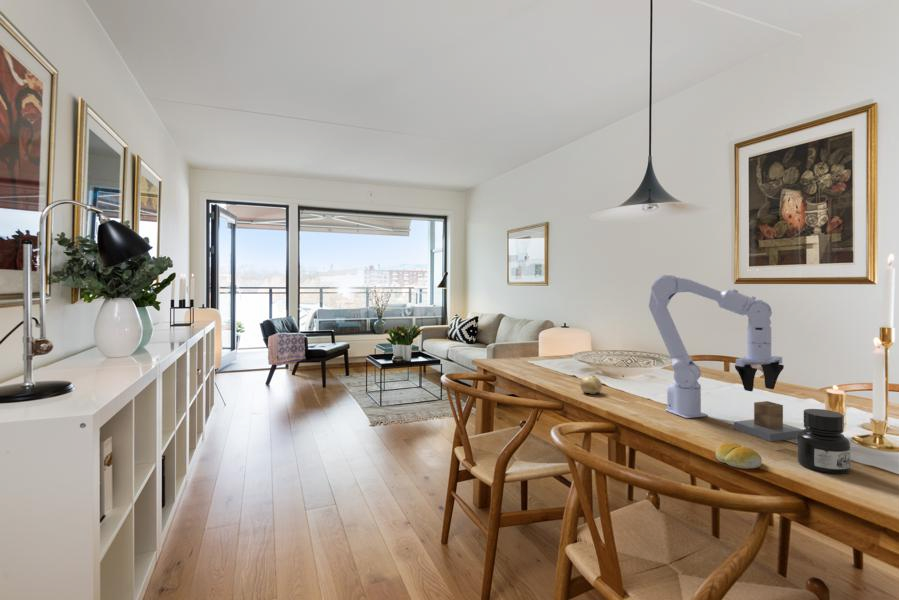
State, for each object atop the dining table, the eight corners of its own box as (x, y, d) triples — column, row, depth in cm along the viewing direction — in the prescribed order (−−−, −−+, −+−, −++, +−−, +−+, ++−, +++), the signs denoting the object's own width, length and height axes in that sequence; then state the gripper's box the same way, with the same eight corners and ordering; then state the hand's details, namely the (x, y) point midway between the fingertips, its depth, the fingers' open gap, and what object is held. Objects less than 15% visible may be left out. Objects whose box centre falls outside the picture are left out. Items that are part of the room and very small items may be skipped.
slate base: (733, 428, 126) (733, 421, 126) (765, 425, 129) (765, 418, 129) (770, 441, 115) (770, 434, 115) (804, 437, 118) (804, 429, 118)
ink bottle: (824, 477, 94) (824, 420, 94) (786, 461, 103) (786, 409, 103) (862, 472, 96) (863, 417, 96) (822, 457, 105) (822, 406, 104)
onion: (605, 395, 166) (604, 376, 166) (583, 396, 167) (583, 377, 166) (598, 390, 174) (598, 372, 174) (577, 391, 175) (577, 372, 174)
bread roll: (734, 453, 109) (734, 436, 109) (768, 467, 100) (768, 449, 100) (706, 457, 107) (705, 440, 107) (738, 471, 98) (738, 453, 98)
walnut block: (754, 424, 123) (754, 402, 123) (767, 422, 124) (767, 401, 124) (769, 429, 119) (769, 406, 119) (782, 427, 120) (782, 405, 120)
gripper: (751, 345, 124) (751, 394, 124) (792, 342, 127) (792, 390, 127) (729, 342, 130) (729, 389, 131) (769, 340, 134) (769, 385, 134)
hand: (759, 389), depth 130 cm, fingers open, 7 cm apart
